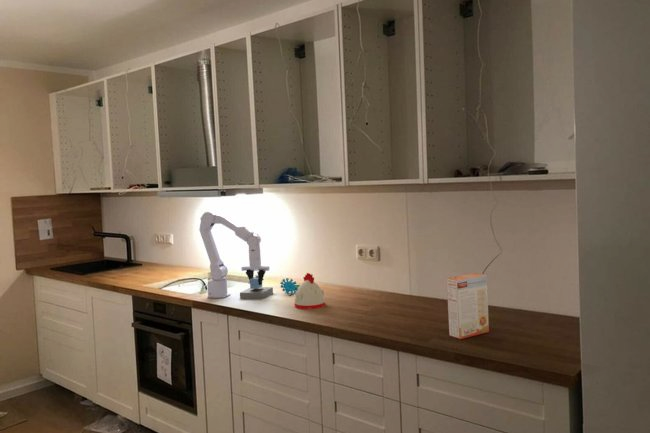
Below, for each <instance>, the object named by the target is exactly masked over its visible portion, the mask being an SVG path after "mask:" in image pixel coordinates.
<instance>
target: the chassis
mask: <svg viewBox="0 0 650 433" xmlns="http://www.w3.org/2000/svg"><path fill="white" fill-rule="evenodd" d="M272 294H274V288H273V287H267V286H266V287H265V286H262V287H260V288H258V289H250V287H249V288H247V289H245V290H243V291H240V292H239V299H240V300H241V299H242V300H245V299H246V300H247V299H248V300H263V299H265V298H267V297H269V296H271V295H272Z"/></svg>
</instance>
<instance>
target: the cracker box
mask: <svg viewBox="0 0 650 433" xmlns="http://www.w3.org/2000/svg"><path fill="white" fill-rule="evenodd" d="M446 291H447V292H446V293H447V311H448V313H447V314H448V333H449V337H453V338H455V339H459V340H463V339H468V338H470V337H471V338H472V337H475V336H479V335H483V334H487V333H489V332H490V328H489V327H490V325H489V303H488V302H489V300H488V297H489V296H488V275H487V274H482V273H478V272H476V273H475V272H474V273H469V274H464V275H457V276H453V277H452V276H451V277H447V278H446Z"/></svg>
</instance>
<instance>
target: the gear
mask: <svg viewBox="0 0 650 433" xmlns="http://www.w3.org/2000/svg"><path fill="white" fill-rule="evenodd" d="M279 284H280V288H281V289H282V292H285V293H286V294H287V295H288V294H290V295H293V294H294V295H295V292H297V290H298V288H299V287H300V285H301V284H297V281H296V280H295V281H294V279H292V278H290V280H289V278H288V277H286V278H283V279H281V281H280V283H279Z"/></svg>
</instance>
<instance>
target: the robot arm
mask: <svg viewBox="0 0 650 433" xmlns="http://www.w3.org/2000/svg"><path fill="white" fill-rule="evenodd" d="M216 224H217V225H219V224H221V225H223V226H224V227H227V228H228V229H230V230H231V231H233V232H234V234H235V236H236V237H238V238H239V239H241V240H242V241H244V242H245V243H246V244H247V245H248V260H249V265H248V266H241V272H244V271H245V274H246V276H247V278H248V281H250V279H251V278H253V277H254V274H255V273H254V272H257V275H258V278H259V285H262V286H263V281H264V280H263V279H264V276H265V273H266V272H269V271H270V265H269V266H268V265H267V266H266V265H262V262H261V261H262V258H261V247H260V246H261V242H262V240H261V236H260V235H259V234H258V233H255V232H254V231H251V230H249V229H247V227H246V226H245V225H237V224H236V223H234V222H233V221H232V220H230V219H229V218H228V217H226V216H225V215H223V214H222V213H219V212H218V211H216V210H211V211H205V212H204V213H203V214H202V215H201V217H200V224H199V232H200V237H201V240H202V242H203V245H204V247H205V250H206V254H207V257H208V260H209V264H210V265H209V269H210V274H209V275H210V277H211V279H209V280H208V281H207V284H206V286H207V298H214V299H215V298H216V299H217V298H218V299H219V298H220V299H224V298H227V297H229V296H230V295H231V293H228V279H227V275H228V272H229V271H228V270H229V269H228V268H227V266H226V265H225V264H224V261H222V259H221V258H220V254H219V251H218V248H217V245H216V242H215V239H214V237H213V233H212V229H213V227H214V225H216Z"/></svg>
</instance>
